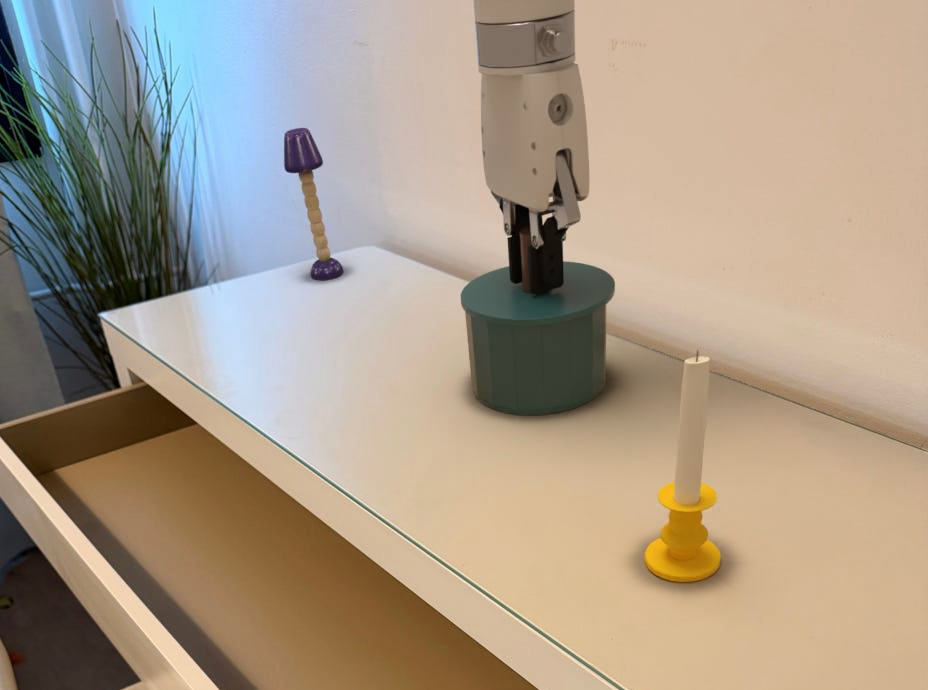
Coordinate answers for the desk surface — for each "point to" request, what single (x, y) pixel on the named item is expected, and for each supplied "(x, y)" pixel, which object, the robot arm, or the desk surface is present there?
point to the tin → (538, 364)
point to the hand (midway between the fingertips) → (536, 282)
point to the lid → (520, 307)
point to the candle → (687, 491)
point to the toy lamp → (310, 196)
